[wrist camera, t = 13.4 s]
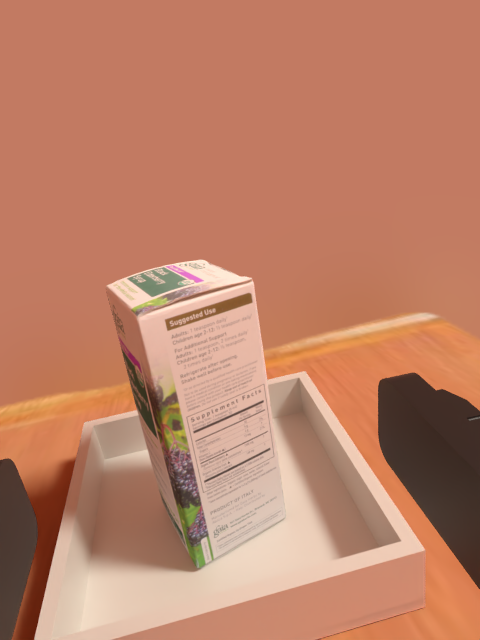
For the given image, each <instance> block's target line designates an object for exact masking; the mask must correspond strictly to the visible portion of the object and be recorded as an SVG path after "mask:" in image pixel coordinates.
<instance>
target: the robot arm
mask: <svg viewBox="0 0 480 640" xmlns="http://www.w3.org/2000/svg"><path fill="white" fill-rule="evenodd" d="M378 436H379V443H380V447H381V450H382V453H383V455H384V457H385V459H386V461H387V463H388V464H389V466H390V467H391V468H392V470H393V471H394V472H395V474H396V475H397V477H398V478H399V479H400V481H401V482H402V483H403V485H404V486H405V488H406V489H407V490H408V492H409V493H410V494H411V496H412V497H413V499H414V500H415V501H416V503H417V504H418V505H419V507H420V508H421V510H422V511H423V512H424V514H425V515H426V516H427V518H428V519H429V521H430V522H431V523H432V525H433V526H434V527H435V529H436V530H437V532H438V533H439V534H440V536H441V537H442V538H443V540H444V541H445V542H446V544H447V545H448V547H449V548H450V549H451V551H452V552H453V553H454V555H455V556H456V558H457V559H458V560H459V562H460V563H461V564H462V566H463V567H464V569H465V570H466V571H467V573H468V574H469V575H470V577H471V578H472V580H473V581H474V582H475V584H476V585H477V586H478V588H479V589H480V411H479V410H478V409H477V408H475V407H474V406H473V405H472V404H471V403H469V402H468V401H467V400H466V399H463V398H461V397H459V396H457V395H455V394H452V393H450V392H448V391H446V390H443V389H441V390H437V391H436V390H435V389H434V388H433V387H431V386H430V385H429V384H428V383H427V382H426V381H425V380H424V379H422V378H421V377H420V376H419V375H418V374H416V373H409V374H404V375H399V376H395V377H390V378H385V379H382V380H381V381H380V382H379V386H378ZM37 537H38V529H37V520H36V516H35V513H34V510H33V507H32V505H31V503H30V500H29V498H28V495H27V493H26V490H25V488H24V485H23V483H22V480H21V478H20V475H19V473H18V470H17V468H16V466H15V464H14V462H13V461H12V460H11V459H3V460H0V640H12V636H13V632H14V628H15V624H16V621H17V617H18V613H19V609H20V606H21V602H22V598H23V594H24V590H25V587H26V583H27V579H28V575H29V572H30V568H31V564H32V560H33V557H34V553H35V549H36V545H37Z"/></svg>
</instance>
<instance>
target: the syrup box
mask: <svg viewBox="0 0 480 640" xmlns="http://www.w3.org/2000/svg"><path fill="white" fill-rule="evenodd" d="M106 293H107V297H108V300H109V304H110V307H111V311H112V315H113V318H114V322H115V326H116V330H117V334H118V337H119V341H120V345H121V349H122V353H123V357H124V361H125V365H126V369H127V373H128V376H129V380H130V385H131V388H132V392H133V396H134V400H135V404H136V408H137V411H138V415H139V419H140V423H141V427H142V431H143V434H144V438H145V442H146V445H147V449H148V453H149V457H150V460H151V464H152V467H153V471H154V474H155V478H156V481H157V485H158V488H159V492H160V495H161V499H162V502H163V505H164V507H165V509H166V512H167V514H168V516H169V518H170V520H171V522H172V524H173V526H174V528H175V530H176V532H177V534H178V535H179V537H180V539H181V541H182V543H183V545H184V546H185V548H186V550H187V552H188V554H189V556H190V557H191V559H192V561H193V562H194V565H195V566H196V568H203V567H204V566H206V565H208V564H209V563H211V562H213V561H215V560H216V559H218V558H220V557H222V556H223V555H225V554H227V553H228V552H230V551H232V550H233V549H235V548H237V547H239V546H240V545H242V544H244V543H245V542H247V541H248V540H250V539H252V538H254V537H255V536H257V535H258V534H260V533H262V532H263V531H265V530H267V529H268V528H270V527H272V526H273V525H275V524H276V523H278V522H280V521H281V520H283V519H285V518H286V511H285V503H284V496H283V490H282V482H281V476H280V468H279V461H278V453H277V446H276V440H275V432H274V425H273V418H272V411H271V405H270V397H269V390H268V382H267V375H266V368H265V361H264V354H263V347H262V339H261V333H260V326H259V319H258V313H257V305H256V298H255V291H254V283H253V281H252V278H248V277H246V276H245V277H240V276H237V275H236V274H234V273H232V272H230V271H227V270H225V269H223V268H220V267H218V266H215V265H213V264H210V263H208V262H207V261H204V260H197V261H188V262H182V263H176V264H171V265H166V266H162V267H158V268H154V269H150V270H146V271H143V272H140V273H137V274H134V275H131V276H129V277H126V278H123V279H121V280H118V281H116V282H114V283H112V284H109V285H107V286H106Z"/></svg>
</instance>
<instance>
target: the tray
mask: <svg viewBox="0 0 480 640" xmlns="http://www.w3.org/2000/svg"><path fill="white" fill-rule="evenodd" d="M267 382H268V390H269V397H270V405H271V411H272V418H273V425H274V432H275V440H276V446H277V453H278V461H279V468H280V476H281V482H282V490H283V496H284V503H285V511H286V518H285V519H283V520H281V521H280V522H278V523H276V524H275V525H273V526H272V527H270V528H268V529H267V530H265V531H263V532H262V533H260V534H258V535H257V536H255V537H254V538H252V539H250V540H248V541H247V542H245V543H244V544H242V545H240V546H239V547H237V548H235V549H233V550H232V551H230V552H228V553H227V554H225V555H223V556H222V557H220V558H218V559H216V560H215V561H213V562H211V563H209V564H208V565H206V566H204V567H203V568H196V566H195V565H194V562H193V561H192V559H191V557H190V556H189V554H188V552H187V550H186V548H185V546H184V545H183V543H182V541H181V539H180V537H179V535H178V534H177V532H176V530H175V528H174V526H173V524H172V522H171V520H170V518H169V516H168V514H167V512H166V509H165V507H164V505H163V502H162V499H161V495H160V492H159V488H158V485H157V481H156V478H155V474H154V471H153V467H152V464H151V460H150V457H149V453H148V449H147V445H146V442H145V438H144V434H143V431H142V427H141V423H140V419H139V415H138V411H137V410H135V411H131V412H127V413H123V414H118V415H114V416H110V417H105V418H101V419H97V420H92V421H88V422H84V426H83V431H82V435H81V439H80V444H79V448H78V452H77V457H76V461H75V465H74V470H73V474H72V478H71V482H70V487H69V491H68V495H67V500H66V504H65V508H64V513H63V517H62V521H61V526H60V530H59V534H58V539H57V543H56V547H55V551H54V556H53V560H52V564H51V569H50V573H49V577H48V582H47V586H46V590H45V595H44V599H43V603H42V608H41V612H40V616H39V621H38V625H37V629H36V633H35V638H34V640H317V639H320V638H324V637H327V636H330V635H334V634H337V633H340V632H344V631H347V630H350V629H354V628H357V627H360V626H364V625H367V624H370V623H374V622H377V621H380V620H384V619H387V618H390V617H394V616H397V615H400V614H404V613H407V612H410V611H414V610H417V609H420V608H424V607H425V549H424V547H423V546H422V544H421V543H420V541H419V540H418V538H417V537H416V535H415V534H414V533H413V531H412V530H411V528H410V527H409V525H408V524H407V522H406V521H405V519H404V518H403V516H402V515H401V513H400V512H399V510H398V509H397V507H396V506H395V504H394V503H393V501H392V500H391V498H390V497H389V495H388V494H387V492H386V491H385V489H384V488H383V486H382V485H381V483H380V482H379V480H378V479H377V477H376V476H375V474H374V473H373V471H372V470H371V468H370V467H369V465H368V464H367V462H366V461H365V459H364V458H363V456H362V455H361V454H360V452H359V451H358V449H357V448H356V446H355V445H354V443H353V442H352V440H351V439H350V437H349V436H348V434H347V433H346V431H345V430H344V428H343V427H342V425H341V424H340V422H339V421H338V419H337V418H336V416H335V415H334V413H333V412H332V410H331V409H330V407H329V406H328V404H327V403H326V401H325V400H324V398H323V397H322V395H321V394H320V392H319V391H318V389H317V388H316V386H315V385H314V383H313V382H312V380H311V379H310V378H309V376H308V375H307V373H306V372H305V371H303V372H299V373H295V374H290V375H286V376H282V377H277V378H273V379H269V380H267Z"/></svg>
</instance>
